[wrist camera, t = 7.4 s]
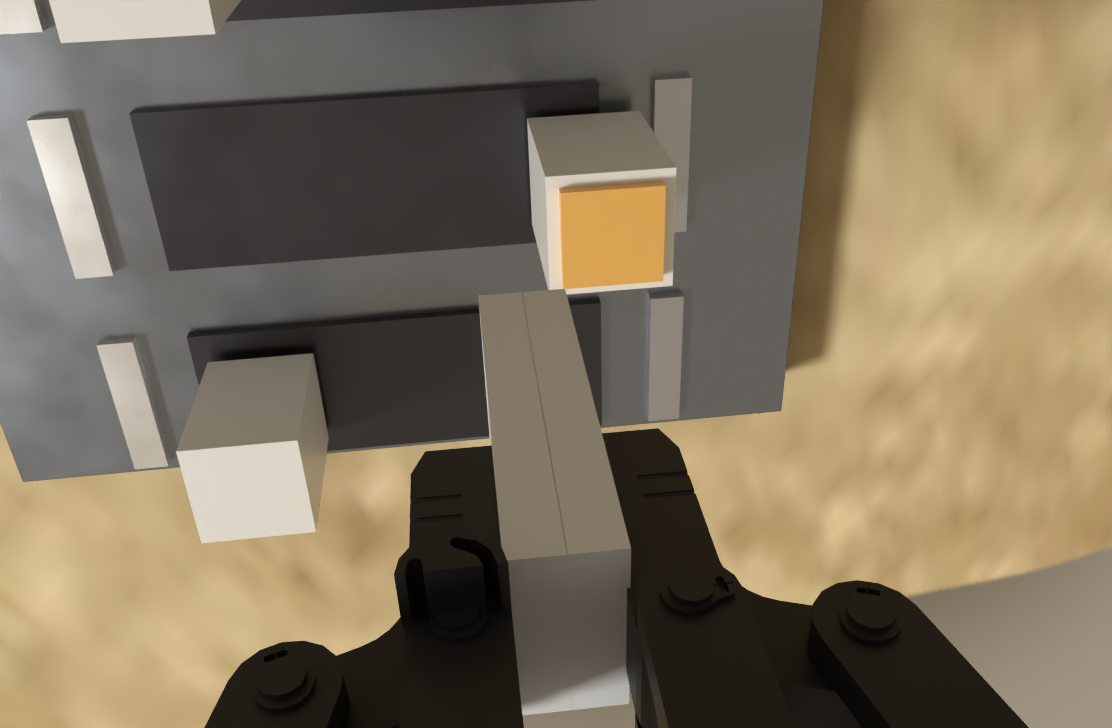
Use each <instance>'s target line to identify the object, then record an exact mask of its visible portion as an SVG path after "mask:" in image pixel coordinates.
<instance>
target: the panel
mask: <svg viewBox="0 0 1112 728" xmlns="http://www.w3.org/2000/svg"><path fill="white" fill-rule="evenodd" d="M822 9H823V0H241V1H240V3H239V4H238V5H237V7H236V8H235V9H234V10H233V12H232V13H231V14H230V16H229V17H228V18H227V20H226V21H225V22H224V24H223V25H222V26H221V27H220V29H219V30H218V31H217V33H216V34H210V35H193V36H176V37H158V38H141V39H124V40H107V41H90V42H72V43H61V42H60V38H59V35H58V31H57V28H56V24H55V20H54V17H53V13H52V10H51V6H50V3H49V0H0V424H1V426H2V429H3V431H4V434H5V437H6V439H7V442H8V444H9V447H10V449H11V452H12V455H13V457H14V460H15V462H16V465H17V468H18V470H19V473H20V475H21V478H22V480H23V482H28V481H39V480H49V479H60V478H71V477H81V476H92V475H103V474H113V473H124V472H135V471H145V470H156V469H167V468H177V467H180V464H179V461H178V457H177V454H176V450H177V447H178V444H179V442H180V439H181V436H182V433H183V430H184V428H185V425H186V422H187V419H188V416H189V413H190V411H191V408H192V405H193V402H194V399H195V397H196V394H197V391H198V388H199V385H200V382H201V380H202V377H203V374H204V371H205V368H206V366H207V363H208V362H217V361H229V360H240V359H252V358H264V357H276V356H287V355H299V354H311V353H313V355H314V360H315V365H316V371H317V376H318V382H319V387H320V393H321V398H322V404H323V409H324V415H325V420H326V426H327V431H328V437H329V439H328V447H327V453H337V452H348V451H359V450H369V449H380V448H391V447H401V446H412V445H423V444H433V443H444V442H455V441H465V440H476V439H487V438H490V435H489V424H488V411H487V399H486V386H485V374H484V361H483V349H482V336H481V324H480V311H479V299H478V295H491V294H504V293H516V292H529V291H542V290H548V287H547V283H546V279H545V275H544V271H543V266H542V262H541V258H540V254H539V250H538V246H537V242H536V238H535V234H534V230H533V226H532V213H531V191H530V170H529V149H528V128H527V118H538V117H553V116H568V115H583V114H598V113H613V112H628V111H640V112H641V113H642V115H643V116H644V118H645V120H646V121H647V123H648V124H649V126H650V127H651V129H652V130H653V132H654V134H655V135H656V137H657V138H658V140H659V141H660V143H661V144H662V146H663V147H664V149H665V151H666V152H667V154H668V155H669V157H670V158H671V160H672V161H673V163H674V165H675V166H676V195H675V226H674V257H673V286H665V287H653V288H640V289H628V290H616V291H604V292H592V293H579V294H567V298H568V302H569V306H570V310H571V314H572V318H573V322H574V326H575V330H576V334H577V338H578V342H579V346H580V349H581V353H582V357H583V361H584V365H585V369H586V373H587V377H588V381H589V385H590V389H591V393H592V397H593V401H594V405H595V408H596V412H597V416H598V420H599V424H600V428H604V427H615V426H625V425H636V424H647V423H657V422H668V421H679V420H689V419H700V418H711V417H721V416H732V415H743V414H753V413H764V412H775V411H781V408H782V398H783V389H784V379H785V369H786V359H787V350H788V340H789V330H790V321H791V311H792V301H793V291H794V282H795V272H796V262H797V252H798V243H799V233H800V223H801V213H802V204H803V194H804V184H805V174H806V165H807V155H808V145H809V135H810V126H811V116H812V106H813V96H814V87H815V77H816V67H817V58H818V48H819V38H820V28H821V19H822Z"/></svg>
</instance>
